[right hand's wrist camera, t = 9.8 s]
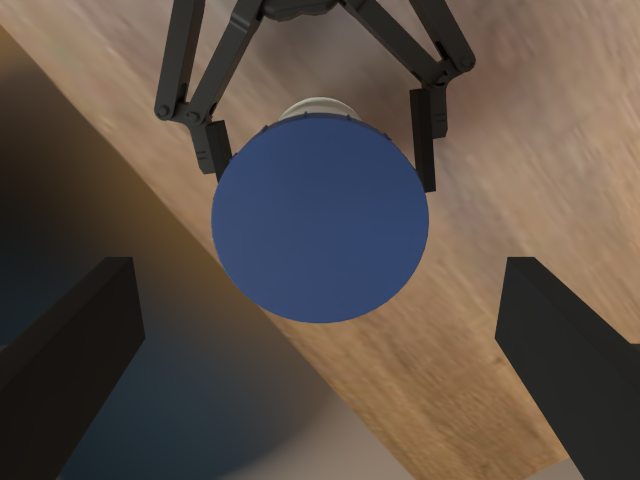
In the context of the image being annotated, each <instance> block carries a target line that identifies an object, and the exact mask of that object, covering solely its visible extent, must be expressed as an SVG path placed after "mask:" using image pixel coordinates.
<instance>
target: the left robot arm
mask: <svg viewBox="0 0 640 480" xmlns="http://www.w3.org/2000/svg"><path fill="white" fill-rule="evenodd" d="M409 2H410V3H411V5H412V7H413V9H414V10H415V12H416V14H417V16H418V17H419V19H420V21H421V23H422V24H423V26H424V28H425V30H426V31H427V33H428V35H429V37H430V38H431V40H432V42H433V44H434V46H435V47H436V49H437V51H438V53H439V54H440V56H441V58H442V60H441V61H439V62H436V61H435V60H434V59H433V58H432V57H431V56H430V55H429V54H428V53H427V52H426V51H425V50H424V49H423V48H422V47H421V46H420V45H419V44H418V43H417V42H416V41H415V40H414V39H413V38H412V37H411V36H410V35H409V34H408V33H407V32H406V31H405V30H404V29H403V28H402V27H401V26H400V25H399V24H398V23H397V22H396V21H395V20H394V19H393V18H392V17H391V16H390V15H389V13H388V12H387V11H386V10H385V9H384V8H383V7H382V6H381V5H380V4H379V3H378V2H377V1H376V0H238V1H237V3H236V5H235V8H234V10H233V12H232V14H231V18H230V22H229V24H228V26H227V28H226V30H225V32H224V34H223V36H222V38H221V40H220V42H219V44H218V46H217V48H216V50H215V52H214V54H213V56H212V59H211V61H210V63H209V65H208V67H207V69H206V71H205V73H204V75H203V77H202V79H201V81H200V83H199V85H198V87H197V89H196V91H195V93H194V95H193V97H192V99H191V101H190V102H185V101H186V96H187V92H188V87H189V82H190V77H191V72H192V67H193V62H194V57H195V53H196V48H197V43H198V38H199V33H200V28H201V23H202V19H203V14H204V8H205V0H174V3H173V9H172V14H171V20H170V25H169V31H168V36H167V42H166V47H165V53H164V58H163V63H162V69H161V74H160V80H159V85H158V91H157V96H156V102H155V107H154V112H155V115H156V116H157V117H158V118H159V119H160V120H164V121H166V120H170V121H175V122H180V123H183V124H184V125H186V126H187V127H188V128H189V130H190V133H191V136H192V140H193V144H194V148H195V152H196V156H197V160H198V164H199V168H200V169H201V171H202V172H203V174H209V173H216V177H217V181H218V183H219V181H220V179H221V177H222V175H223V173H224V171H225V169H226V168H227V166H228V165H229V163H230V161H229V160H230V159H231V158H232V153H231V148H230V144H229V139H228V135H227V130H226V126H225V121H224V120H221V121H215V122H212V120H211V119H212V118H213V116H212V115H213V113H214V111H215V109H216V107H217V105H218V103H219V101H220V99H221V97H222V95H223V93H224V91H225V89H226V87H227V85H228V83H229V81H230V79H231V77H232V75H233V73H234V72H235V70H236V68H237V66H238V64H239V62H240V60H241V58H242V56H243V54H244V52H245V50H246V48H247V46H248V44H249V42H250V40H251V38H252V36H253V35H254V33H255V32H256V31H257V29H258V27H259V25H260V23H261V21H262V19H263V17H264V15H265V16H266V17H268V18H270V19H272V20H277V21H278V22H281V21H286V20H291V19H293V18H295V17H297V16H299V15H301V14H305V15H313V16H316V15H321V14H326V13H327V12H328V11H330V10H331V9H332V8H334V7H335V5H336V4H337V3H339V4H340V5H341V6H342V7H343V8H344V9H345V10H346V11H347V12H348V13H350V14H351V15H352V16H353V17H355V18H356V19H357V20H358V21H359V22H360V23H361V24H362V25H363V26H364V27H365V28H366V29H367V30H368V31H369V32H370V33H371V34H372V35H373V36H374V37H375V38H376V39H377V40H378V41H379V42H380V43H381V44H382V45H383V46H384V47H385V48H386V49H387V50H388V51H389V52H390V53H391V54H392V55H393V56H394V57H395V58H396V59H397V60H398V61H399V62H400V63H401V64H402V65H403V66H404V67H405V68H407V69H408V70H409V71H410V72H411V73H412V74H413V75H414V76H415V77H416V78H417V79H418V80H419V81H420V82H421V84H422V89H421V88H420V89H414V90H409V91H410V103H411V116H412V128H413V141H414V153H415V166H416V171H417V172H418V174H417V175H418V177H419V179H420V181H421V183H422V186H423V189H424V192H425V193H427V192H433V191H436V184H435V168H434V153H433V139H436V138H442V137H445V135H446V132H447V129H448V127H447V108H446V87H447V85H448V83H449V82H450V81H451V80H452V79H453V78H455V77H457V76H459V75H461V74H462V73H464V72H468V71H470V70H471V69H472V68H473V67H474V65H475V61H476V59H475V56H474V54H473V52H472V50H471V48H470V47H469V45H468V43H467V41H466V39H465V37H464V35H463V34H462V32H461V30H460V28H459V26H458V24H457V23H456V21H455V19H454V17H453V15H452V13H451V12H450V10H449V8H448V6H447V4H446V2H445V1H444V0H409Z"/></svg>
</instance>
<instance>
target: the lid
mask: <svg viewBox="0 0 640 480" xmlns="http://www.w3.org/2000/svg"><path fill="white" fill-rule="evenodd" d="M229 161H230V163H229V165H228V166H227V168H226V169H225V171H224V173H223V175H222V177H221V179H220V181H219V183H218V186H217V189H216V192H215V195H214V197H213V205H212V214H211V227H212V237H213V241H214V245H215V249H216V252H217V255H218V257H219V260H220V262H221V264H222V266H223V268H224V269H225V271H226V273H227V274H228V276H229V277H230V279H231V280H232V281H233V283H234V284H235V285H236V286H237V287H238V288H239V289H240V291H241V292H242V293H243V294H245V295H246V296H247V297H248V298H249V299H251V300H252V301H253V302H254V303H256V304H258V305H259V306H261V307H262V308H264V309H266V310H268V311H270V312H272V313H274V314H276V315H279V316H281V317H284V318H287V319H291V320H295V321H300V322H308V323H332V322H340V321H345V320H349V319H353V318H356V317H359V316H361V315H364V314H366V313H368V312H370V311H372V310H374V309H376V308H378V307H379V306H381V305H382V304H384V303H386V302H387V301H388V300H389V299H391V298H392V297H393V296H394V295H395V294H397V293H398V292H399V291H400V289H401V288H402V287H403V286H404V285H405V284H406V283H407V281H408V280H409V279H410V277H411V276H412V274H413V273H414V271H415V269H416V268H417V266H418V264H419V262H420V260H421V257H422V255H423V252H424V249H425V245H426V241H427V237H428V227H429V214H428V205H427V200H426V195H425V192H424V189H423V186H422V183H421V181H420V179H419V177H418V175H417V174H418V172H417V171H416V169H415V168H414V167H413V166H412V165H411V163H410V162H409V161H408V159H407V158H406V157H405V156H404V155H403V153H402V152H401V151H400V150H399V149H398V148H397V147H396V146H395V145H394V144H393V143H392V142H391V138H390V137H389V136H388V135H387V134H386V133H384V135H383V134H382V133H381V132H380V131H378V130H377V129H375V128H373V127H372V126H370V125H368V124H367V123H364V122H362V121H360V120H357V119H355V118H352V117H351V116H350V115H349V114H347V116H345V115H341V114H334V113H307V111H305V112H304V114H299V115H295V116H292V117H288V118H285V119H283V120H280V121H278V122H276V123H273V124H272V125H270V126H267V125H266V126H265V127H264V128H263V129H262V130H261V131H260V132H259V133H258V134H257V135H255V136H254V137H253V138H252V139H250V141H249V142H248V143H247V144H246V145H245V146H244V147H243V148H242V149H241V150H240V151H239V152H238V153H236V154H235V155H234V156H233V157H232V158H231V159H230V160H229Z"/></svg>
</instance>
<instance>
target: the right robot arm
mask: <svg viewBox="0 0 640 480" xmlns="http://www.w3.org/2000/svg"><path fill="white" fill-rule="evenodd" d="M144 340H145V333H144V326H143V320H142V314H141V308H140V302H139V295H138V289H137V283H136V277H135V271H134V264H133V258H132V257H105V258H104V259H103V260H102V261H101V262H100V263H99V264H98V265H96V266H95V267H94V268H93V269H92V270H91V271H90V272H89V273H88V274H87V275H85V276H84V277H83V278H82V279H81V280H80V281H79V282H78V283H77V284H75V285H74V286H73V287H72V288H71V289H70V290H69V291H68V292H67V293H65V294H64V295H63V296H62V297H61V298H60V299H59V300H58V301H57V302H56V303H54V304H53V305H52V306H51V307H50V308H49V309H48V310H47V311H45V312H44V313H43V314H42V315H41V316H40V317H39V318H38V319H37V320H35V321H34V322H33V323H32V324H31V325H30V326H29V327H28V328H27V329H26V330H24V331H23V332H22V333H21V334H20V335H19V336H18V337H17V338H16V339H14V340H13V341H12V342H11V343H10V344H9V345H0V480H55V479H56V478H57V476H58V475H59V473H60V472H61V470H62V468H63V467H64V465H65V464H66V462H67V461H68V459H69V457H70V456H71V454H72V453H73V451H74V450H75V448H76V446H77V445H78V443H79V442H80V440H81V439H82V437H83V435H84V434H85V432H86V431H87V429H88V428H89V426H90V424H91V423H92V421H93V420H94V418H95V417H96V415H97V413H98V412H99V410H100V409H101V407H102V406H103V404H104V402H105V401H106V399H107V398H108V396H109V395H110V393H111V391H112V390H113V388H114V387H115V385H116V384H117V382H118V380H119V379H120V377H121V376H122V374H123V373H124V371H125V369H126V368H127V366H128V365H129V363H130V362H131V360H132V358H133V357H134V355H135V354H136V352H137V351H138V349H139V348H140V346H141V344H142V343H143V341H144ZM495 340H496V341H497V343H498V344H499V346H500V347H501V349H502V351H503V352H504V354H505V355H506V357H507V358H508V360H509V362H510V363H511V365H512V366H513V368H514V369H515V371H516V373H517V374H518V376H519V377H520V379H521V380H522V382H523V384H524V385H525V387H526V388H527V390H528V391H529V393H530V395H531V396H532V398H533V399H534V401H535V402H536V404H537V406H538V407H539V409H540V410H541V412H542V413H543V415H544V417H545V418H546V420H547V421H548V423H549V424H550V426H551V428H552V429H553V431H554V432H555V434H556V435H557V437H558V439H559V440H560V442H561V443H562V445H563V446H564V448H565V450H566V451H567V453H568V454H569V456H570V457H571V459H572V461H573V462H574V464H575V465H576V467H577V468H578V470H579V472H580V473H581V475H582V476H583V478H584V479H585V480H640V344H630V343H629V342H628V341H627V340H626V339H624V338H623V337H622V336H621V335H620V334H619V333H618V332H617V331H616V330H614V329H613V328H612V327H611V326H610V325H609V324H608V323H607V322H606V321H605V320H603V319H602V318H601V317H600V316H599V315H598V314H597V313H596V312H595V311H593V310H592V309H591V308H590V307H589V306H588V305H587V304H586V303H585V302H583V301H582V300H581V299H580V298H579V297H578V296H577V295H576V294H575V293H573V292H572V291H571V290H570V289H569V288H568V287H567V286H566V285H565V284H563V283H562V282H561V281H560V280H559V279H558V278H557V277H556V276H555V275H553V274H552V273H551V272H550V271H549V270H548V269H547V268H546V267H545V266H544V265H542V264H541V263H540V262H539V261H538V260H537V259H536V258H535V257H508V258H507V264H506V271H505V277H504V283H503V289H502V295H501V302H500V308H499V314H498V320H497V326H496V333H495Z"/></svg>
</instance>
